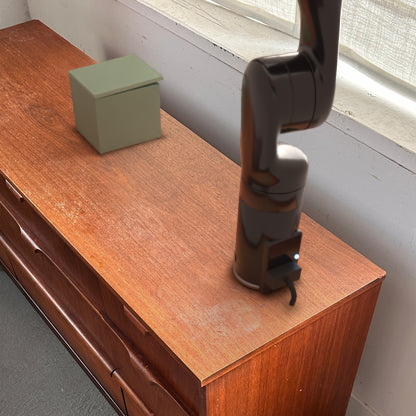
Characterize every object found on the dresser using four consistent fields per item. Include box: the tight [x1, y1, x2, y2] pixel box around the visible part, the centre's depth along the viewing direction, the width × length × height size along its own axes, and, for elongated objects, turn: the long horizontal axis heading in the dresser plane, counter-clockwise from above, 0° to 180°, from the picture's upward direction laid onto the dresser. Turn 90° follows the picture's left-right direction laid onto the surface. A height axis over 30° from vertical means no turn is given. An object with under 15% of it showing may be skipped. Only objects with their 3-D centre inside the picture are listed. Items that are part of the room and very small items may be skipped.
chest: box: [68, 75, 162, 155], centre depth 124 cm, size 14×12×11 cm
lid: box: [67, 53, 164, 99], centre depth 120 cm, size 14×12×1 cm
